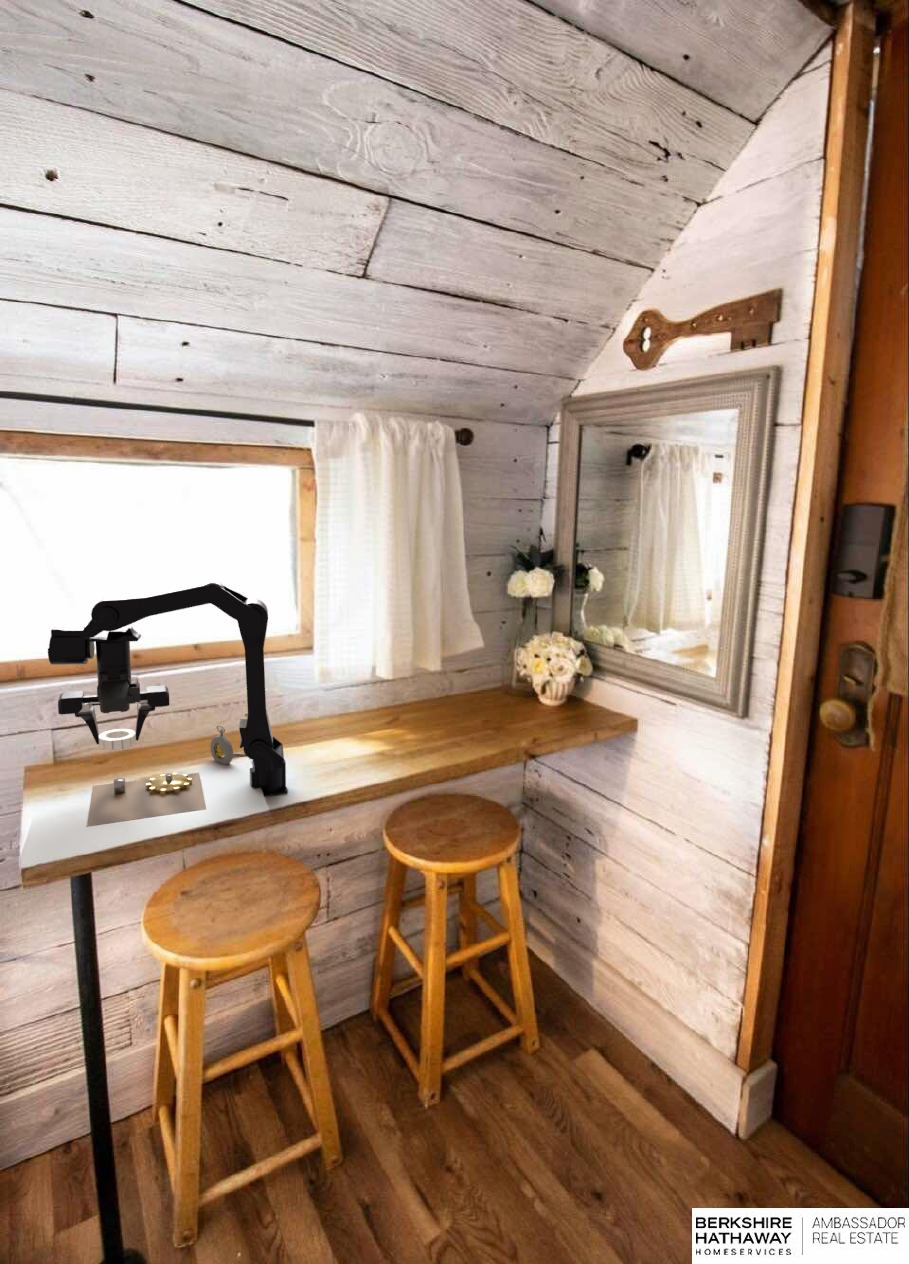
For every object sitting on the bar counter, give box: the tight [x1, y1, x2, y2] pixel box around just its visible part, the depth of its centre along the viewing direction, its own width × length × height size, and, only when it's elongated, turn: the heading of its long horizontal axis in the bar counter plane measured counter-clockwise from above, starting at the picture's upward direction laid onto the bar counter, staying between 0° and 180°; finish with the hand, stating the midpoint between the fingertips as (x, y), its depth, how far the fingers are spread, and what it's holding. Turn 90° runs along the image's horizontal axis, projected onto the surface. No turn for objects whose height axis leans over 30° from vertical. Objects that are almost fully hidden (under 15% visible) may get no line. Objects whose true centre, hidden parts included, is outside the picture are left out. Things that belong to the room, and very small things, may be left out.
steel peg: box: [113, 777, 126, 795], centre depth 134 cm, size 2×2×3 cm
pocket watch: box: [209, 725, 251, 765], centre depth 152 cm, size 8×8×10 cm
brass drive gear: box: [146, 772, 192, 795], centre depth 138 cm, size 8×8×2 cm
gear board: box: [86, 772, 207, 827], centre depth 133 cm, size 20×18×2 cm
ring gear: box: [98, 728, 137, 752], centre depth 131 cm, size 6×6×2 cm
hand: (117, 741), depth 131 cm, fingers closed on ring gear, 6 cm apart
